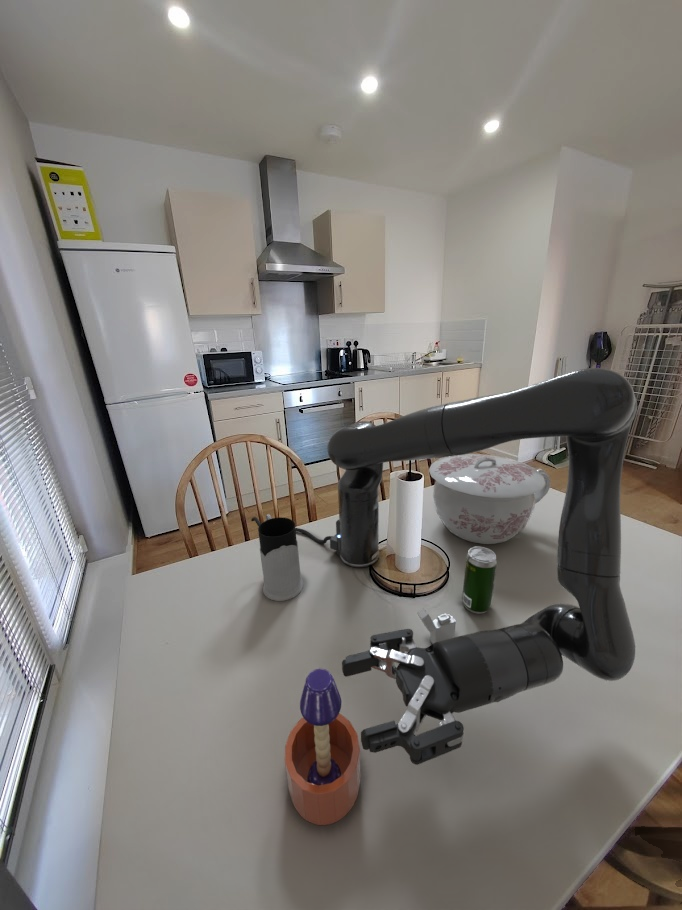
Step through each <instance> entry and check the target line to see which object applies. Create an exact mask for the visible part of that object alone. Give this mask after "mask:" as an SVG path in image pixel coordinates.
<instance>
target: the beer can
mask: <svg viewBox="0 0 682 910" xmlns="http://www.w3.org/2000/svg"><path fill="white" fill-rule="evenodd" d="M465 556H466V557H465V566H464V575H463V585H462V594H461V602H462V604H463V606H464V608H465V609H466V610H467V611H469V612H471V613H474V614H475V615H476V614H477V615H483V614H485V613H487V612H488V611H489V610H491V607H492V599H493V593H494V585H495V578H496V571H497V565H498V561H497V554H496V553H495V552H494V551H493V550H492V549H490V548H488V547H484V546H473V547H470V548H469V549H468V551H467V553H466V555H465Z"/></svg>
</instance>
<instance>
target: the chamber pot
mask: <svg viewBox="0 0 682 910" xmlns="http://www.w3.org/2000/svg"><path fill="white" fill-rule="evenodd" d="M428 472H429V474H430V476H431V478H432V479H433V480H435V482H434V484H433V489H432V490H433V493H432V496H433V501H434V508H435V511H436V514H437V515H438V516H439V519H440V521H441V522H442V524H443V525H444V527H445V528H446V529H447V530H448V531H449V532H451V534H453V535H455V536H456V537H458V538H460V539H463V540H465V541H467V542H471V543H475V544H481V545H495V544H501V543H505V542H507V541H509V540H511V539H513V538H514V537H515V536H517V534H520V532H522V530H523V529H525V527H526V526H527V525H528V523H529V521H530V519H531V516H532V515H533V512H534V511H535V505H536V504H537V503H539V502H540V501H542V499H543V498H544V497H545V496H546V495H547V494H548V492H549V490H550V488H551V482H552V481H551V478H550V476H549V475H550V474H549V473H547V471H545V469H542V468H537V469H536V468H535V467H532V466H530V465H529V464H527V463H525V462H522V461H519V460H515V459H513V458H510V457H505V456H504V457H503V456H499V455H493V454H485V453H470V454H465V455H459V456H451V457H442V458H437V460H435V461H434V462H432V463H431V464H430V466H429V468H428Z"/></svg>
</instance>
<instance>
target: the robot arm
mask: <svg viewBox="0 0 682 910" xmlns="http://www.w3.org/2000/svg"><path fill="white" fill-rule="evenodd" d="M637 410H638V401H637V397H636V394H635V390H634V388H633V386H632V385H631V383H630V382H629V380H628V379H627V378H626V377H625V376H624V375H622V374H621V373H619V372H617V371H615V370H612V369H608V368H602V367H588V368H582V369H579V370H574V371H571V372H568V373H565V374H562V375H559V376H555V377H552V378H550V379H546V380H543V381H540V382H537V383H534V384H532V385H528V386H524V387H522V388H518V389H514V390H512V391H506V392H501V393H495V394H489V395H484V396H477V397H473V398H468V399H463V400H462V399H461V400H456V401H452V402H447V403H441V404H438V405H434V406H429V407H426V408H421V409H419V410H416V411H414V412H410V413H408V414H405V415H402V416H400V417H398V418H395V419H392V420H390V421H387V422H385V423H381V424H378V425H376V424H375V423H373V422H371V421H368V420H360V421H356V422H353V423H351V424H349V425H346V426H344V427H341V428H339V429H338V430H336V431H335V432H334V433H333V434H332V435H331V436H330V438H329V440H328V443H327V446H326V447H327V450H326V451H327V456H328V458H329V460H330V461H331V462H332V463H333V464H334V465H335V466H337V467H338V468H340V469H342V470H345V471H344V472H343V474H342V476H341V477H340V479H339V480H338V482H337V497H338V500H337V501H338V519H337V520H336V521H335V535H327V536H325V537H324V538H323V539H319V538H317V537H316V536H314V535H313V534H312V533H310V532H309V531H308V530H305V529H304V528H298V527H295V529H296V533H301V534H304V535H306V536H307V537H308V538H310V539H311V540H312V541H314V542H316V543H317V544H321V545H324V544H326V543H327V542H328V541H329V547H330V549H331V550H333V551H336V555H337V557H340V560H341V561H342V562H343V563H344V564H345V565H347V566H349V567H353V568H360V569H361V568H367V567H370V566H372V565H374V564H376V563H377V561H378V560H379V557H380V549H379V535H380V534H379V531H380V529H379V521H380V520H379V519H380V518H379V517H380V514H379V513H380V512H379V511H380V510H379V509H380V508H379V507H380V505H379V503H380V502H379V498H380V497H379V496H380V494H379V493H380V492H379V489H380V485H381V483H382V479H383V473H384V463H388V462H389V463H390V462H406V461H419V460H428V459H429V460H430V459H441V458H444V457H451V456H459V455H465V454H475V453H478V452H482V451H484V450H489V449H491V448H493V447H496V446H498V445H502V444H505V443H509V442H513V441H518V440H519V441H520V440H526V439H536V438H537V439H539V438H541V439H542V438H555V437H565V438H566V439H565V440H566V447H567V454H568V473H567V483H566V490H565V495H564V501H563V506H562V510H561V515H560V520H559V526H558V527H559V528H558V536H557V537H558V538H557V561H556V576H557V581H558V583H559V585H560V586H561V587H562V588H563V589H564V590H566V592H568V593H569V594H570V595H572V596H573V598H574V599H575V600H576V602H577V603H578V606H577V605H574V604H571V603H555V604H550V605H548V606H546V607H544V608H543V609H541V610H539V611H538V612H536V613H534V614H533V615H531V616H530V617H528V618H527V619H525V621H523V622H522V623H518V624H513V625H510V626H505V627H501V628H498V629H489V630H480V631H476V632H470V633H467V634H462V635H459V636H454V638H451V639H446V640H442V641H438V642H435V643H433V644H432V643H431V644H430V645H429V646H427V647H418V646H417V645H416V643H415V641H414V631H413V630H412V629H410V628H405V629H399V630H393V631H388V632H382V633H376V634H372V635H371V636H370V641H369V649H368V650H366V651H362V652H358V653H354V654H349V655H347V656H345V658H344V659H343V660H342V661H341V670H342V671H341V672H342V675H343V676H344V677H351V676H354V675H359V674H362V673H366V672H370V671H372V669H374V670H377V671H380V672H383V673H385V675H386V676H387V677H389V678H391V679H394V680H395V684H396V686H397V688H398V690H399V691H400V693H401V694H402V701H403V703H404V705H405V707H406V709H405V711H404V713H403V715H402V716H401V718H400V720H399V721H398V723H396V721H395V720H392V721H388V722H384V723H381V724H376V725H374V726H370V727H367V728H364V729H362V730H361V732H360V742H361V746H362V749H363V750H364V751H367V750H369V753H373V754H377V753H380V752H382V751H383V752H384V751H385V750H389V749H392V748H396V747H401V748H402V749H404V751H405V752H406V753H407V754H408V756H409V760H410V762H411V763H412V764H413V765H415V766H419V765H420V764H423V763H426V762H428V761H431V760H433V759H435V758H437V757H440V756H442V755H445V754H449V753H450V752H452V751H455V750H457V749H460V748H461V747H462V745H463V740H464V739H463V738H464V732H465V731H464V729H465V726H464V724H463V723H462V722H461V721H459V720H456V719H455V717H454V715H453V713H457V714H458V713H459V714H460V713H463V712H467V711H470V710H473V709H476V708H480V707H483V706H486V705H490V704H493V703H500V701H503V700H507V699H510V698H511V697H513V696H515V695H517V694H519V693H521V692H524V691H528V690H531V689H534V688H538V687H542V686H545V685H548V684H550V683H552V682H555V681H556V680H558V679H559V678H560V677H561V675H562V674H563V672H564V661H563V660H564V659H563V657H564V658H566V659H567V660H569V661H571V662H572V663H574V664H575V665H577V666H578V667H580V668H582V669H583V670H585V671H586V672H587V673H589V674H591V675H593V676H594V677H595V678H598V679H601V680H603V681H610V682H613V681H619V680H621V679H623V678H624V677H625V676H627V675H628V673H629V672H630V671H631V669H632V668H633V666H634V663H635V658H636V642H635V637H634V631H633V628H632V624H631V621H630V617H629V614H628V610H627V607H626V602H625V598H624V596H623V591H622V589H621V567H622V566H621V563H622V519H621V518H622V517H621V516H622V515H621V514H622V513H621V491H622V490H621V488H622V487H621V485H622V474H623V466H624V465H623V464H624V458H625V452H626V449H627V443H628V440H629V435H630V431H631V428H632V424H633V421H634V420H635V417H636V415H637ZM250 521H251V522H255V524H256V525H257V527H259V526H260V524H262V522H260V520H259V518H258V517H257V516H254V517H251V519H250ZM395 663H397V666H396V664H395ZM426 716H427V717H430V718H433V719H435V720H439V723H438V726H437V727H435V728H432V729H430V730H427V731H425V732H422V733H419V734H416V733H418V731H419V729H420V727H421V726H422V723H424V720H425V718H426Z"/></svg>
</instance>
